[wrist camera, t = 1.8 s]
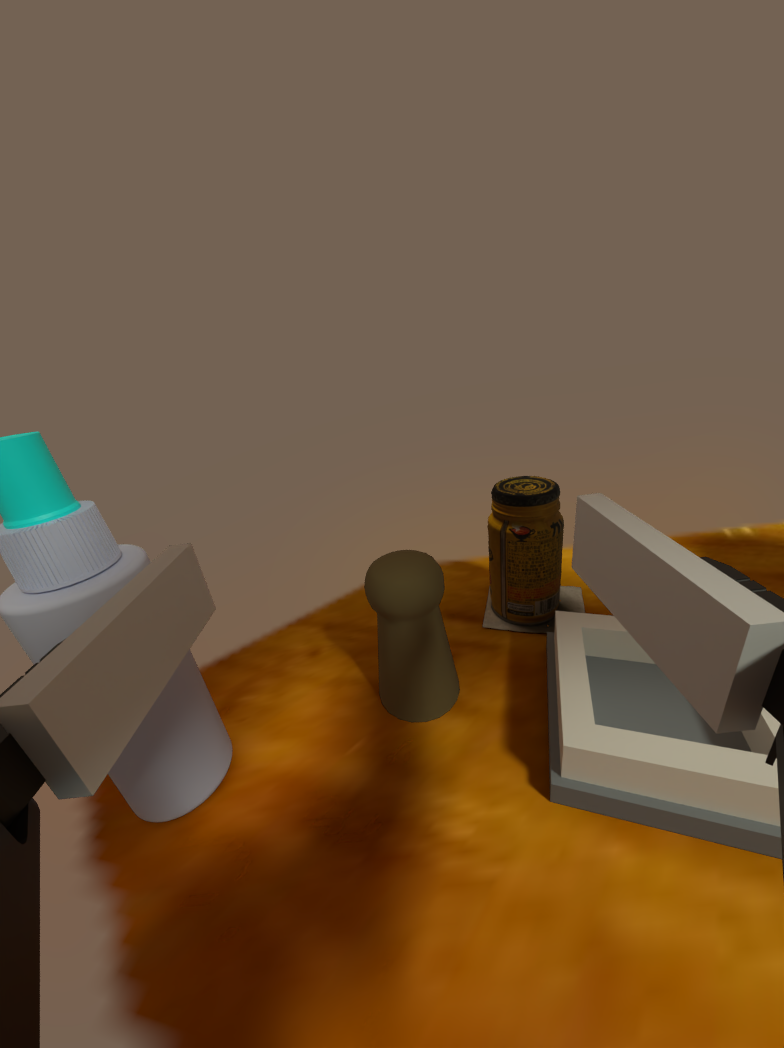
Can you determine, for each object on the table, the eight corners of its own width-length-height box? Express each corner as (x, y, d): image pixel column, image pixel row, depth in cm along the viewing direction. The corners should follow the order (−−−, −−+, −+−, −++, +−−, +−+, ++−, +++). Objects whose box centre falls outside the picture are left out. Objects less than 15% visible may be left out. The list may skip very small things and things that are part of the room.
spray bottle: (209, 718, 29) (70, 422, 20) (251, 763, 25) (105, 423, 16) (120, 786, 25) (-103, 454, 16) (155, 851, 21) (-110, 465, 12)
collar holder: (732, 668, 27) (746, 623, 25) (849, 875, 17) (885, 821, 15) (546, 646, 31) (548, 605, 29) (550, 801, 21) (552, 752, 19)
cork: (389, 655, 32) (368, 539, 28) (461, 659, 31) (452, 537, 26) (370, 718, 27) (341, 587, 23) (456, 726, 26) (444, 588, 21)
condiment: (490, 582, 40) (486, 472, 35) (580, 588, 37) (590, 469, 32) (482, 629, 34) (476, 503, 29) (589, 640, 31) (603, 502, 26)
